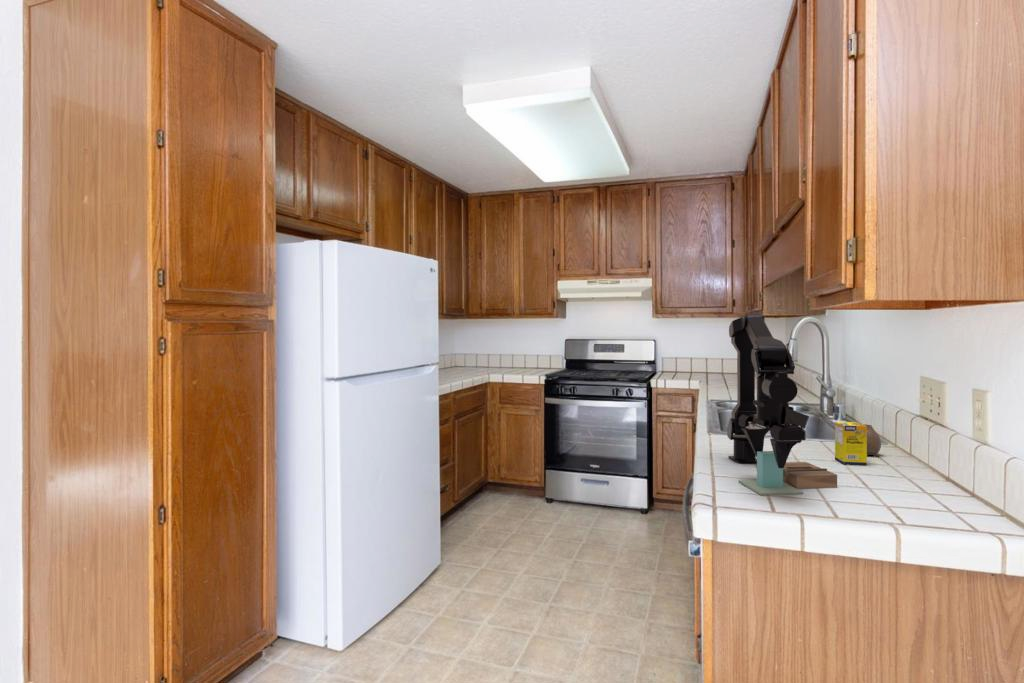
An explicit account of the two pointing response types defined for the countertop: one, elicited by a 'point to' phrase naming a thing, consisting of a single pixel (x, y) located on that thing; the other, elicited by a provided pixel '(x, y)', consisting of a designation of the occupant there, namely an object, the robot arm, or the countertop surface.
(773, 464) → the tall teal box
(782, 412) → the robot arm
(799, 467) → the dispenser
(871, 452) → the vase
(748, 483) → the mat
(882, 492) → the countertop surface
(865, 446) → the supplement box
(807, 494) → the countertop surface
